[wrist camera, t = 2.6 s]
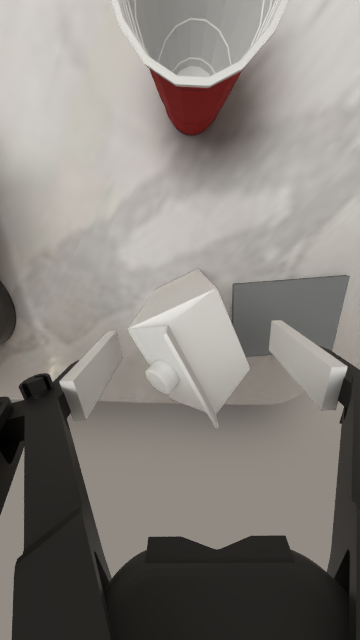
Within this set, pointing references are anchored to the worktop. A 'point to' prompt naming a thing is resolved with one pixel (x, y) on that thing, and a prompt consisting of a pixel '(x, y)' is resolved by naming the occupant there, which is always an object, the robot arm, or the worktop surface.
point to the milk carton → (190, 344)
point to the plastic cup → (197, 49)
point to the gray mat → (287, 310)
